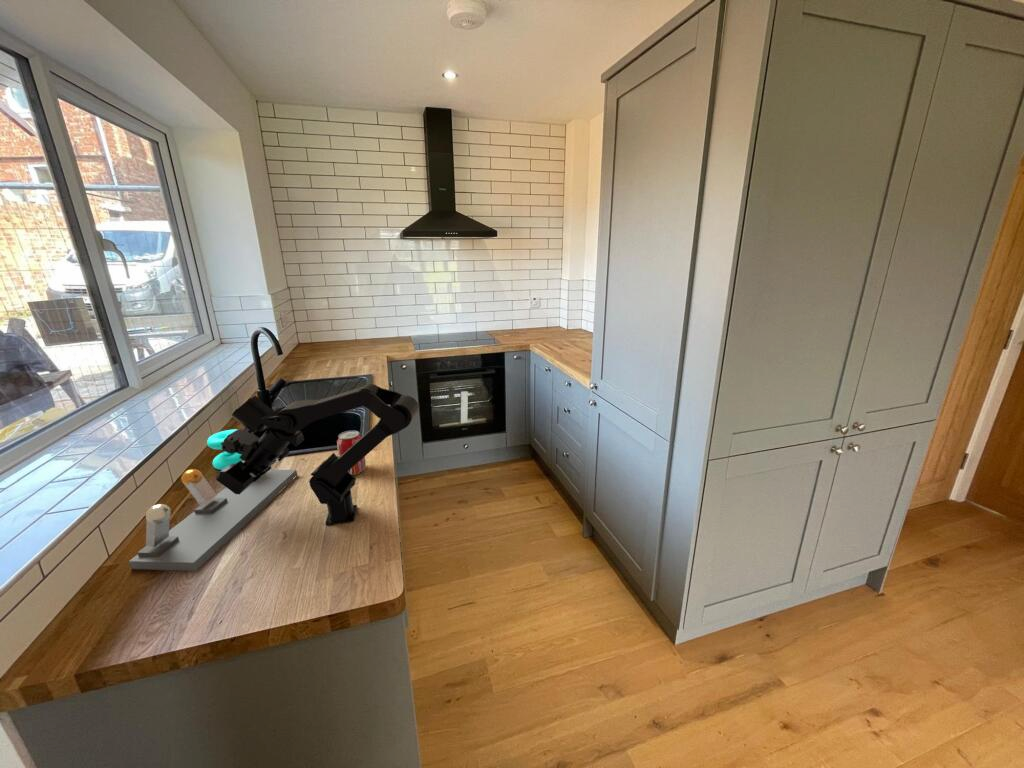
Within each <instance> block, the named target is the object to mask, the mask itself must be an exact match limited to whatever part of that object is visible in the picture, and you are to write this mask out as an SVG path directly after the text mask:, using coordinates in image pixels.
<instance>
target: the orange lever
mask: <svg viewBox="0 0 1024 768" xmlns="http://www.w3.org/2000/svg"><path fill="white" fill-rule="evenodd" d="M181 482H182V484H184V486H185V487H186V489H187V490H188V491H189V492H190V494H191V496H192V497H193V498H194V499H195V501H196V502H197V503H198V504H199V506H202V505H204V504H206V503H208V502H209V501H210V500H212V499H213V498H214V497H216V496H217V494H218V493H216V492H215V490H214V489H213V488H212V486H211V484H209V482H208V481H207V479H206V478H205V476H204V475H203V474H202V472H201V471H200V470H198V469H195V468H193V469H192V468H191V469H188V470H186V471H184V472H183V474H182V475H181Z"/></svg>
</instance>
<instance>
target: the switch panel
mask: <svg viewBox="0 0 1024 768" xmlns="http://www.w3.org/2000/svg"><path fill="white" fill-rule="evenodd" d="M295 476H297V477H298V472H297V469H270V470H269V471H268V472H266V473H265V474H263V475H261V477H260V478H259V479H258V480H256V481H255V482H254V483H252V484H251V485H250V486H249V487H248V488H247V489H245V490H244V491H243V492H242V493H241V494H235V493H233V492H232V491H231V490H229V489H228V488H227V487H225V488H223V489H222V490H221V491H220V492H218V493H216V494H217V496H216V497H214V498H213V499H212V500H210V501H209V502H208V503H206V504H204V505H202V506H200V505H198V506H197V507H196V508H194V509H193V512H192V513H190V514H189V515H188V516H186V517H185V518H184V519H182V520H181V521H180V522H178V523H177V524H175V525H174V526H173V527H172V528H171V529H169V537H167V538H166V539H165V540H163V541H162V542H161V543H159V544H158V545H157V546H156V547H151V546H147V545H145V546H144V547H142V548H141V549H139V550H138V551H137V554H136V555H135V556H134V557H132V558H131V559H130V560H128V563H129V565H130V568H131V570H151V571H152V570H153V571H154V570H155V571H156V570H157V571H159V570H160V571H162V570H163V571H197V570H198V569H199V568H200V567H202V566H203V565H204V564H205V563H206V562H207V561H208V560H209V559H210V558H211V557H212V556H213V555H215V553H217V552H218V551H219V549H220V550H221V548H222V547H223V546H224V545H225V544H226V543H228V542H229V541H230V539H232V538H233V537H234V536H235V535H236V534H237V533H238V532H239V531H240V530H242V528H244V526H245V525H247V524H248V523H249V522H250V521H251V520H252V519H253V518H254V517H255V516H257V514H258V513H259V512H260V511H261V510H263V509H264V508H265V507H266V506H267V505H268V504H269V503H270V502H271V501H272V500H273V499H274V498H276V497H277V495H278V493H279V492H280V491H281V490H282V489H283V488H284V487H285V486H286V485H287V484H288V485H290V483H291V482H293V481H294V480H293V478H294V477H295ZM290 481H291V482H290ZM288 485H287V486H288ZM287 486H286V487H287ZM286 487H285V488H286ZM285 488H284V489H285ZM284 489H283V490H284ZM283 490H282V491H283ZM282 491H281V492H282ZM281 492H280V493H281ZM280 493H279V494H280Z"/></svg>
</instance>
